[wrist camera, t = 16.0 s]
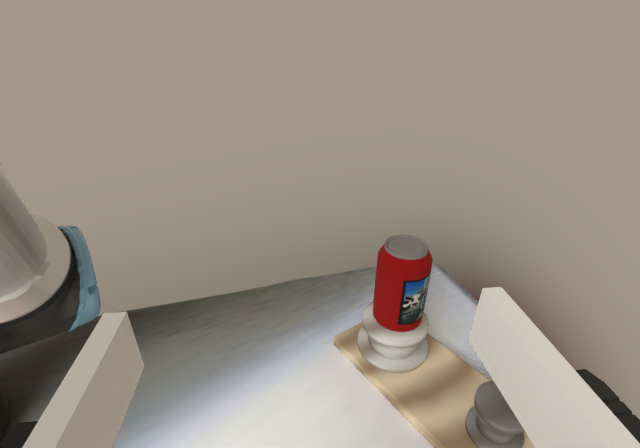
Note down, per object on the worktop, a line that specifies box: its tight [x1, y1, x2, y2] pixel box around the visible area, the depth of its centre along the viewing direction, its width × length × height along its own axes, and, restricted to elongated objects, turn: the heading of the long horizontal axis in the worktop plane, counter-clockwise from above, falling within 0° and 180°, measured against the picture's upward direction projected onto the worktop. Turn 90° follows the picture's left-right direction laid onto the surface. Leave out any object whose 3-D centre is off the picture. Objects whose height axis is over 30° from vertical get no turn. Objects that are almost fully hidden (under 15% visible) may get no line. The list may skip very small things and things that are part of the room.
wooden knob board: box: [334, 301, 535, 448], centre depth 46 cm, size 28×12×6 cm, turn 35°
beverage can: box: [373, 235, 432, 332], centre depth 47 cm, size 7×7×12 cm
